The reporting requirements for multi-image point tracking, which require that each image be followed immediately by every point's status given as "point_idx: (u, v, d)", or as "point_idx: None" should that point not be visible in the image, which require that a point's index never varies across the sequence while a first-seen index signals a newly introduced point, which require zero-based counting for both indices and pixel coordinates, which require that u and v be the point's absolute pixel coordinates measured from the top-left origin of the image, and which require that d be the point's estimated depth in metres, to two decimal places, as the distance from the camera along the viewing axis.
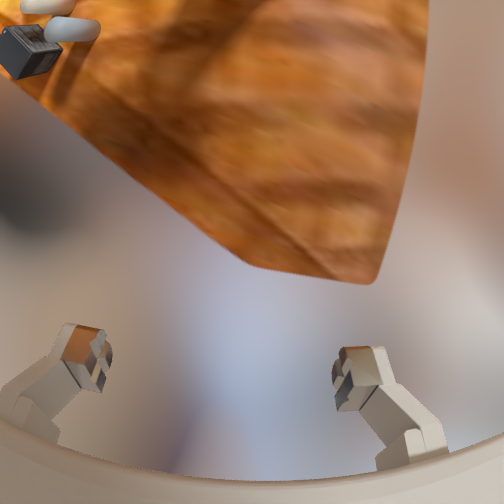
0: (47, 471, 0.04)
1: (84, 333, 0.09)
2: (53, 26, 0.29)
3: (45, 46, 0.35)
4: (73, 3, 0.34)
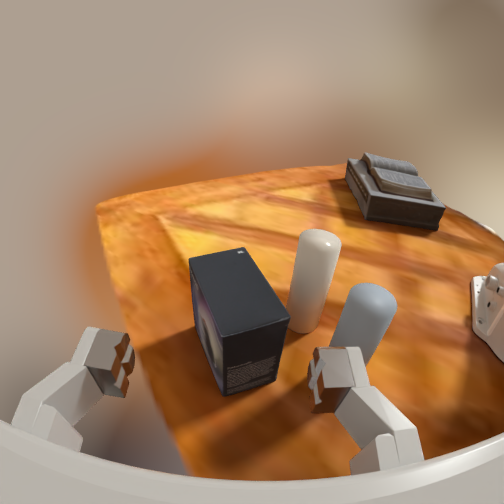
0: (47, 471, 0.04)
1: (108, 337, 0.09)
2: (371, 294, 0.25)
3: None
4: (318, 321, 0.37)
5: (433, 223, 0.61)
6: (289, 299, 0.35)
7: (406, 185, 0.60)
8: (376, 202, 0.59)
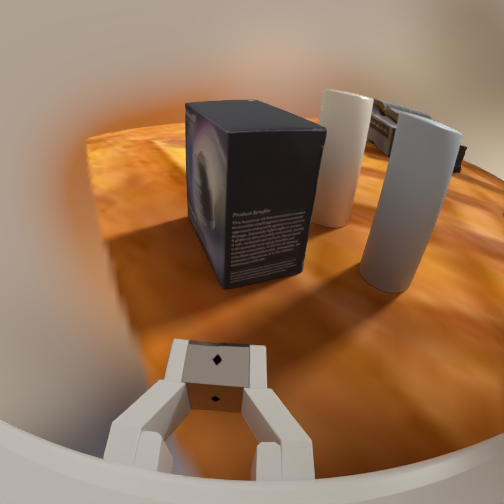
0: (47, 471, 0.04)
1: (202, 349, 0.09)
2: (426, 120, 0.16)
3: None
4: (349, 215, 0.28)
5: (455, 164, 0.52)
6: None
7: None
8: None
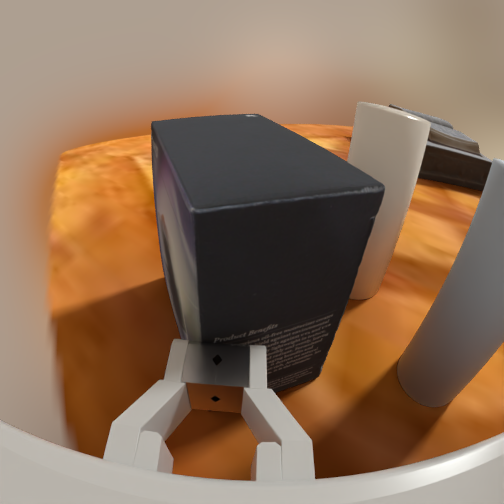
0: (47, 471, 0.04)
1: (201, 349, 0.09)
2: None
3: None
4: None
5: (483, 182, 0.45)
6: None
7: (453, 136, 0.43)
8: (429, 154, 0.41)
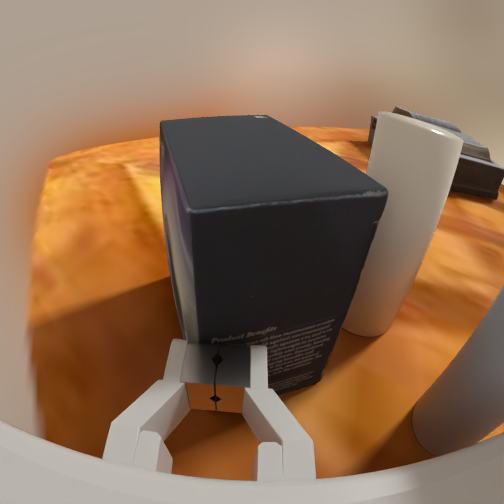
0: (47, 471, 0.04)
1: (201, 349, 0.09)
2: None
3: None
4: None
5: (494, 190, 0.42)
6: None
7: (464, 142, 0.41)
8: None
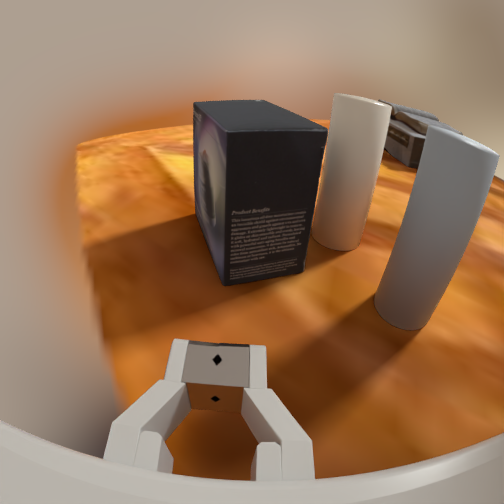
0: (47, 471, 0.04)
1: (201, 349, 0.09)
2: (458, 136, 0.13)
3: None
4: (361, 235, 0.25)
5: None
6: (321, 194, 0.24)
7: None
8: (419, 145, 0.46)
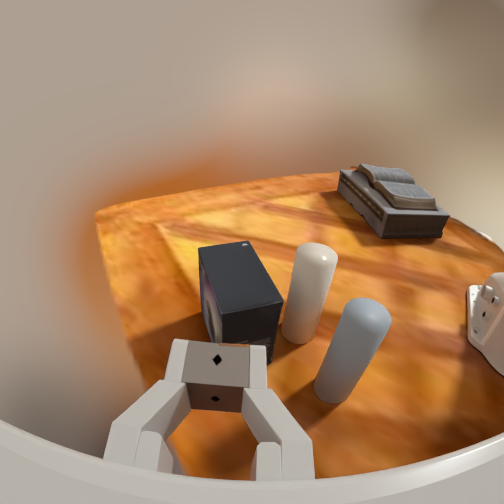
0: (47, 471, 0.04)
1: (202, 349, 0.09)
2: (366, 309, 0.25)
3: None
4: (314, 332, 0.38)
5: (438, 231, 0.63)
6: (286, 311, 0.36)
7: (414, 197, 0.60)
8: (392, 220, 0.58)
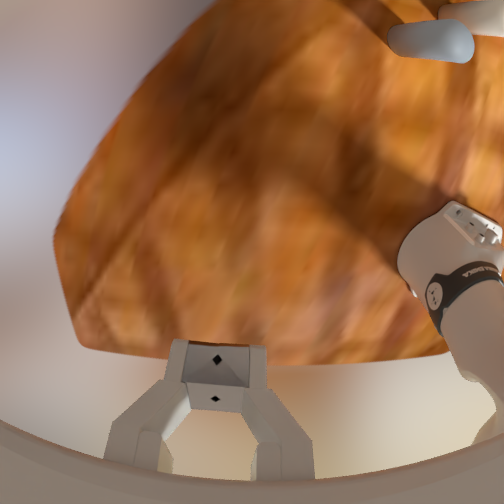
0: (47, 471, 0.04)
1: (202, 349, 0.09)
2: (462, 41, 0.17)
3: None
4: None
5: None
6: (461, 2, 0.20)
7: None
8: None
